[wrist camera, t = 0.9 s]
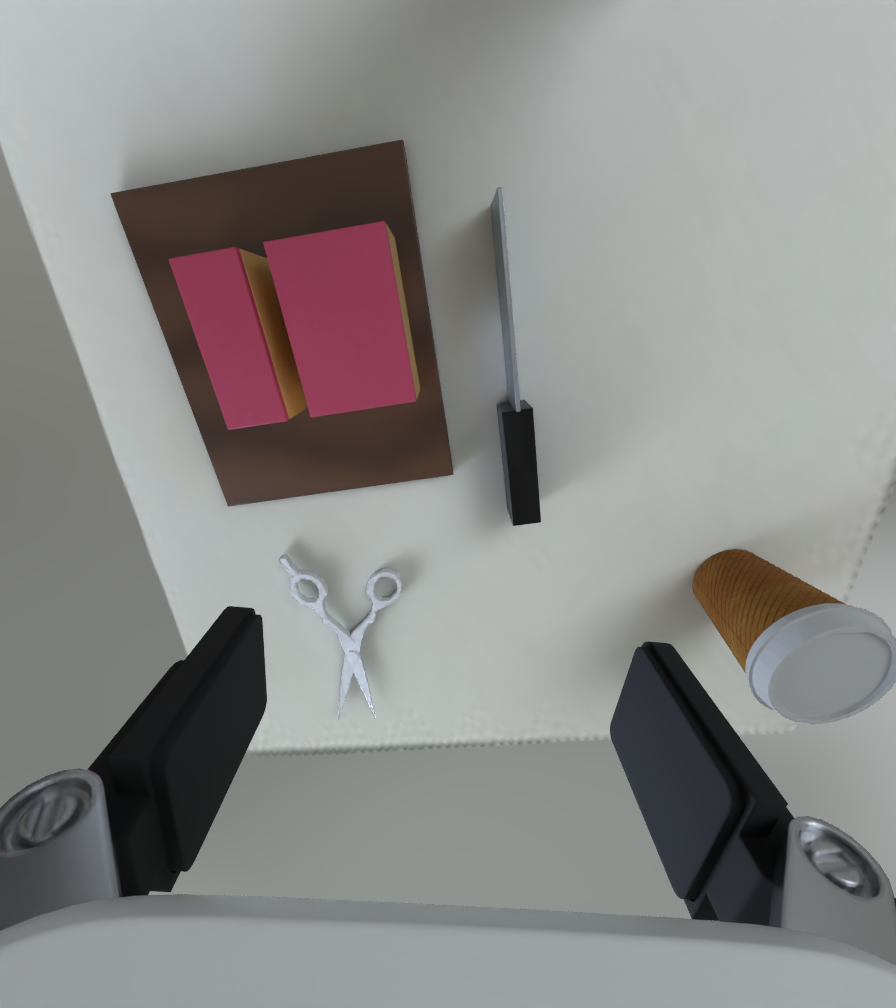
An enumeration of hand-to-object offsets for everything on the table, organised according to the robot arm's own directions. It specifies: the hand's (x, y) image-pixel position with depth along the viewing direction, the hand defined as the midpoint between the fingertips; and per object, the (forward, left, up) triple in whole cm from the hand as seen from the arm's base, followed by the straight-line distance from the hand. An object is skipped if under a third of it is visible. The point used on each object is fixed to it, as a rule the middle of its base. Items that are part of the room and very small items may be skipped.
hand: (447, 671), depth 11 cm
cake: (-9, -5, -25) cm, 27 cm away
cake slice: (-9, -12, -25) cm, 29 cm away
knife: (-4, +5, -26) cm, 26 cm away
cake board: (-8, -9, -26) cm, 28 cm away
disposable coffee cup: (+17, +24, -26) cm, 39 cm away
